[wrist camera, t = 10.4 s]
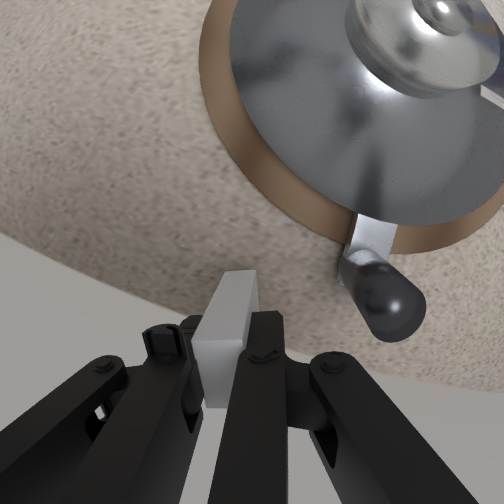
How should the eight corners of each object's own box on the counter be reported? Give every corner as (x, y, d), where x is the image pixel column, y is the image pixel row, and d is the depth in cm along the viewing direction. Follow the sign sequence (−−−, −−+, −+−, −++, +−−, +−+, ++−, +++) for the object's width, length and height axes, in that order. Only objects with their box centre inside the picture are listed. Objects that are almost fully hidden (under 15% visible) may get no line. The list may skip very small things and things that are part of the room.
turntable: (187, 252, 18) (144, 293, 12) (266, -74, 12) (262, -131, 5) (471, 310, 18) (522, 354, 11) (508, 18, 11) (553, -6, 5)
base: (166, 205, 18) (162, 206, 17) (246, -81, 12) (245, -86, 11) (491, 280, 18) (497, 284, 17) (515, 17, 12) (519, 14, 11)
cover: (335, 71, 14) (358, 33, 9) (350, -29, 12) (369, -76, 7) (460, 119, 13) (512, 109, 9) (462, 18, 11) (502, -9, 7)
